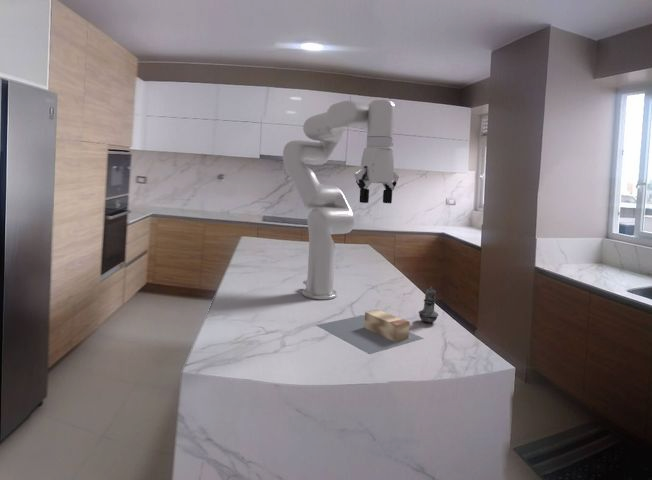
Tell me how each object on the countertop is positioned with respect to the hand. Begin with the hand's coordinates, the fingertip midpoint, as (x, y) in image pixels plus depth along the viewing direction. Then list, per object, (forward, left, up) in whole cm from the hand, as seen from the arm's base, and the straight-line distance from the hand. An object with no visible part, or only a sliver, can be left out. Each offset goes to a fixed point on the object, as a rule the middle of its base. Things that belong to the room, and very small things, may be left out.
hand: (375, 202), depth 122 cm
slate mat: (+11, -10, -35) cm, 38 cm away
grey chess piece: (+14, +12, -36) cm, 40 cm away
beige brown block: (+14, -6, -35) cm, 38 cm away
